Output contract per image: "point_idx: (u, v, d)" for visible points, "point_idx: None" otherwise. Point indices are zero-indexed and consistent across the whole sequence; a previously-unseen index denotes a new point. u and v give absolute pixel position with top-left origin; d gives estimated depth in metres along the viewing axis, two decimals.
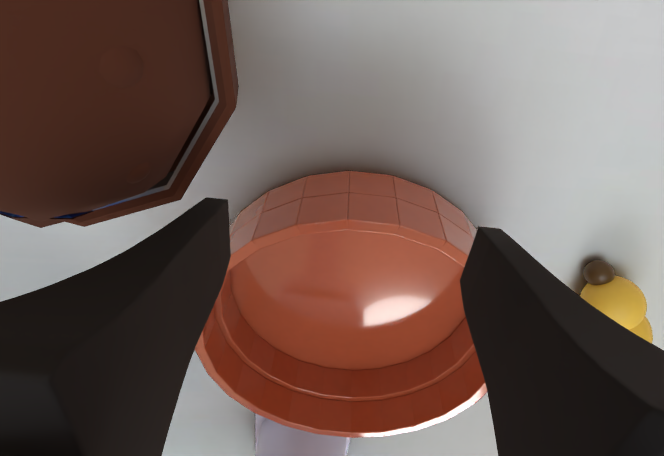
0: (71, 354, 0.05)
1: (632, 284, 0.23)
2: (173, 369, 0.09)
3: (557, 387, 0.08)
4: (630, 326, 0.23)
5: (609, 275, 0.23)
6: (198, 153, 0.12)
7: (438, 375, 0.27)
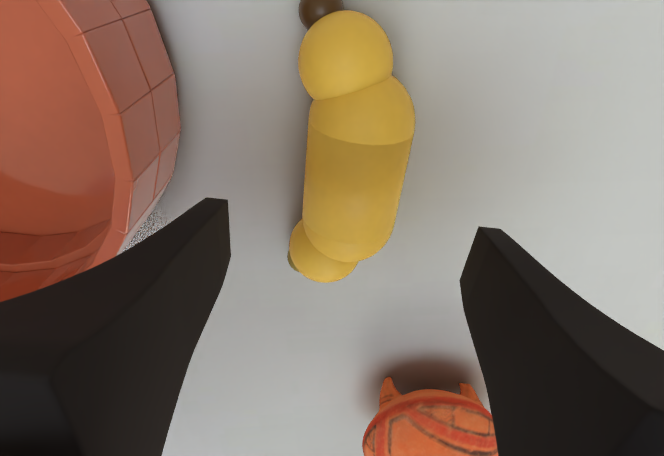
0: (71, 354, 0.05)
1: (363, 14, 0.14)
2: (174, 369, 0.09)
3: (557, 387, 0.08)
4: (354, 82, 0.13)
5: (325, 0, 0.14)
6: None
7: None
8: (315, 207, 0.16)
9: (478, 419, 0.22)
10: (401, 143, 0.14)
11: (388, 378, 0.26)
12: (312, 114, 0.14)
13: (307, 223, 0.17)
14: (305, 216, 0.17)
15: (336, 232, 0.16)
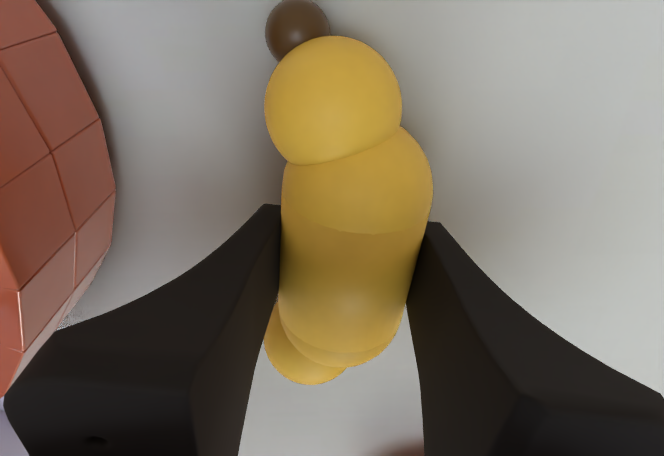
0: (198, 367, 0.05)
1: (359, 42, 0.09)
2: (246, 377, 0.09)
3: (463, 377, 0.08)
4: (344, 144, 0.09)
5: (302, 21, 0.09)
6: None
7: None
8: (293, 304, 0.11)
9: None
10: (414, 227, 0.10)
11: None
12: (285, 183, 0.10)
13: (283, 318, 0.12)
14: (281, 309, 0.12)
15: (322, 340, 0.11)
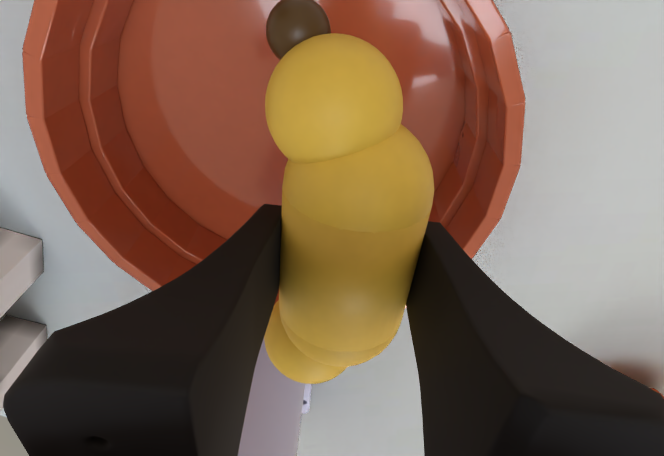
0: (198, 367, 0.05)
1: (360, 40, 0.09)
2: (247, 377, 0.09)
3: (463, 377, 0.08)
4: (345, 142, 0.09)
5: (303, 19, 0.09)
6: None
7: None
8: (294, 303, 0.11)
9: None
10: (415, 225, 0.10)
11: None
12: (286, 181, 0.10)
13: (284, 317, 0.12)
14: (281, 308, 0.12)
15: (322, 338, 0.11)
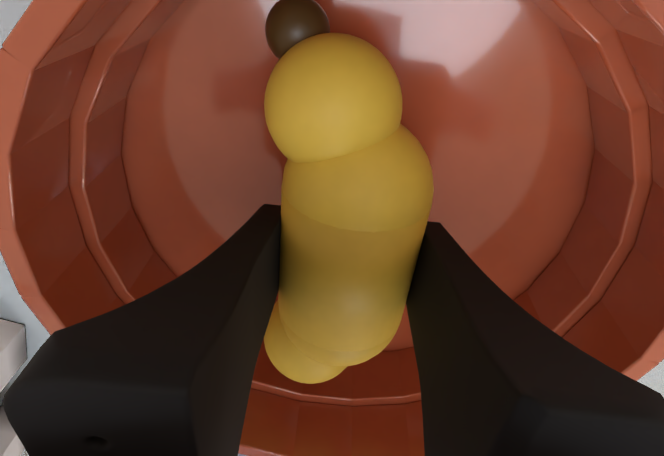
0: (198, 367, 0.05)
1: (359, 39, 0.09)
2: (246, 377, 0.09)
3: (463, 377, 0.08)
4: (344, 142, 0.09)
5: (302, 18, 0.09)
6: None
7: None
8: (292, 302, 0.11)
9: None
10: (414, 225, 0.10)
11: None
12: (285, 181, 0.10)
13: (283, 317, 0.12)
14: (280, 308, 0.12)
15: (322, 338, 0.11)
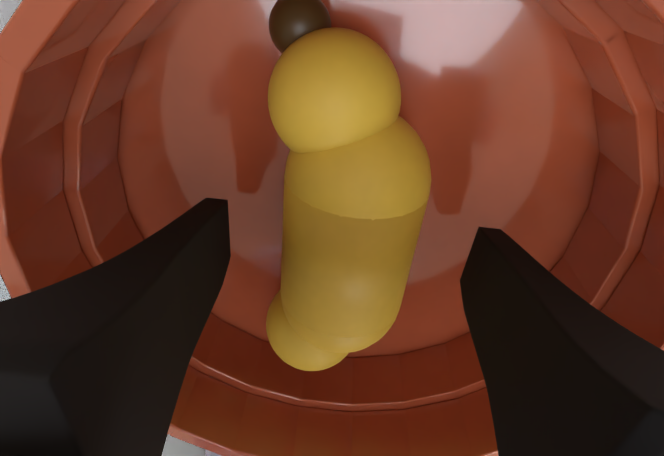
0: (71, 354, 0.05)
1: (359, 34, 0.09)
2: (173, 369, 0.09)
3: (557, 387, 0.08)
4: (345, 132, 0.09)
5: (304, 13, 0.10)
6: None
7: None
8: (295, 290, 0.12)
9: None
10: (412, 213, 0.10)
11: None
12: (288, 171, 0.10)
13: (285, 305, 0.13)
14: (283, 296, 0.13)
15: (323, 324, 0.12)
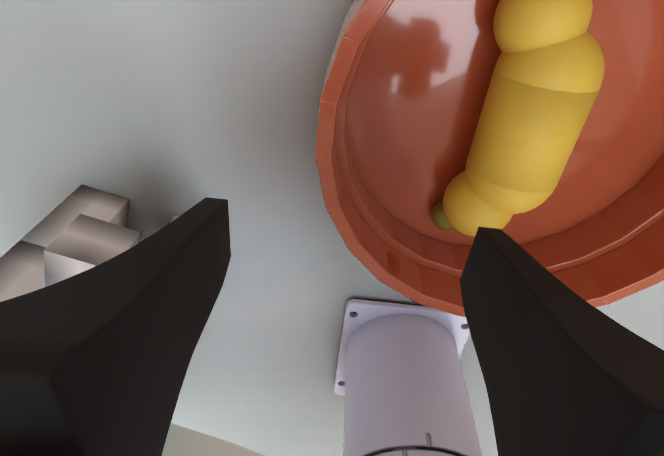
0: (71, 354, 0.05)
1: None
2: (174, 369, 0.09)
3: (557, 387, 0.08)
4: (564, 31, 0.14)
5: None
6: None
7: (629, 231, 0.20)
8: (496, 157, 0.17)
9: None
10: (595, 92, 0.15)
11: None
12: (508, 66, 0.15)
13: (479, 175, 0.18)
14: (477, 169, 0.18)
15: (516, 182, 0.17)
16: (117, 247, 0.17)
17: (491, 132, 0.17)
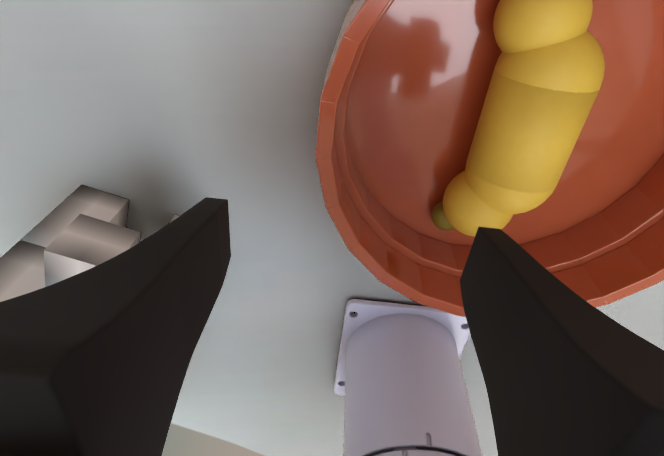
0: (71, 354, 0.05)
1: None
2: (174, 369, 0.09)
3: (557, 387, 0.08)
4: (564, 31, 0.14)
5: None
6: None
7: (629, 231, 0.20)
8: (496, 157, 0.17)
9: None
10: (595, 92, 0.15)
11: None
12: (508, 66, 0.15)
13: (479, 175, 0.18)
14: (477, 169, 0.18)
15: (516, 182, 0.17)
16: (117, 247, 0.17)
17: (491, 132, 0.17)
